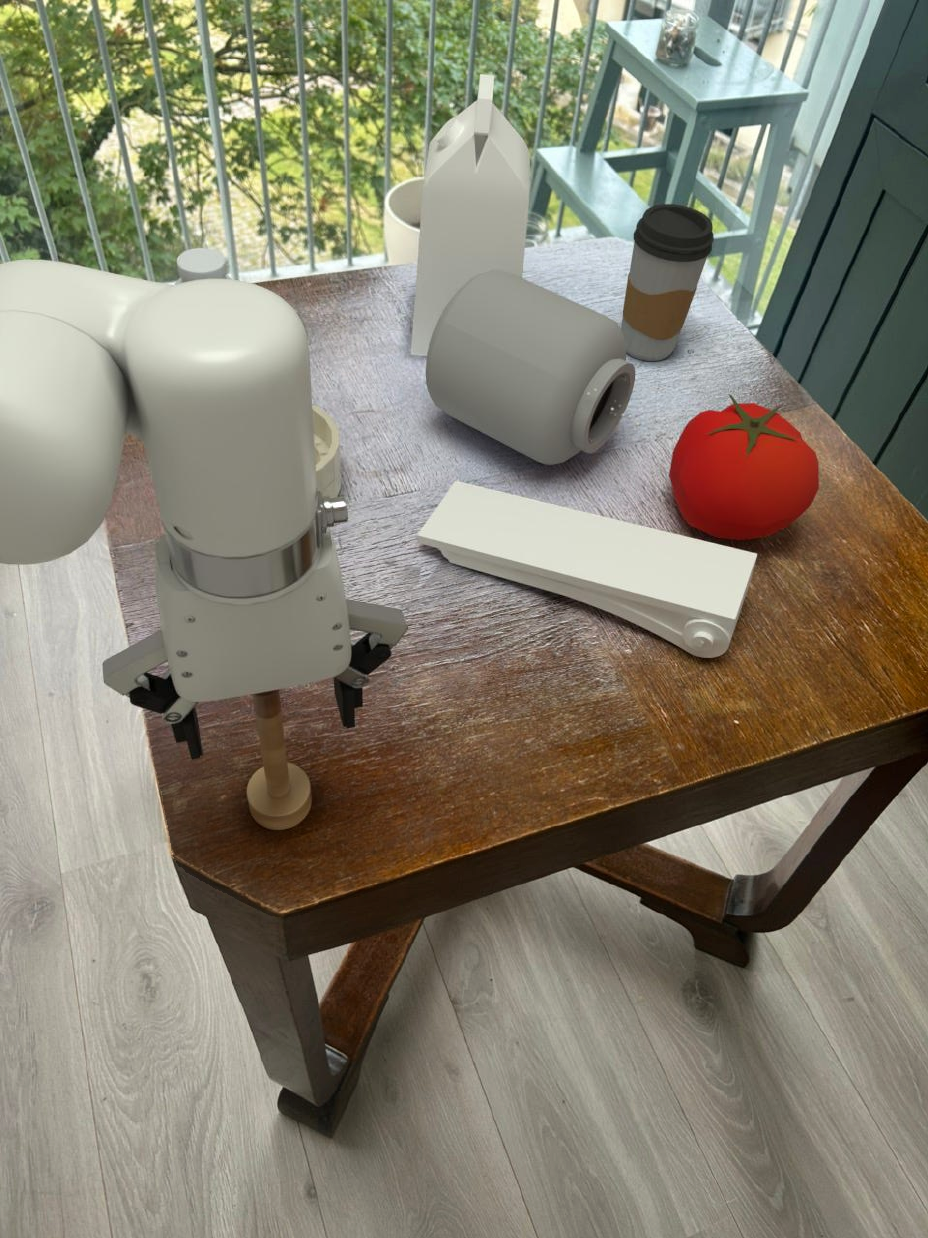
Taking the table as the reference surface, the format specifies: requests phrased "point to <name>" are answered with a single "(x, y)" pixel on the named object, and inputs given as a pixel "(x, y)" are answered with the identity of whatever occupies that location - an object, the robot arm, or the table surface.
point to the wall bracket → (598, 563)
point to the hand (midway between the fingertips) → (271, 724)
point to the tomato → (742, 472)
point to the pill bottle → (201, 265)
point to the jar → (529, 368)
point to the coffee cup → (663, 278)
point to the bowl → (326, 453)
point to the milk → (469, 208)
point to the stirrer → (276, 772)
